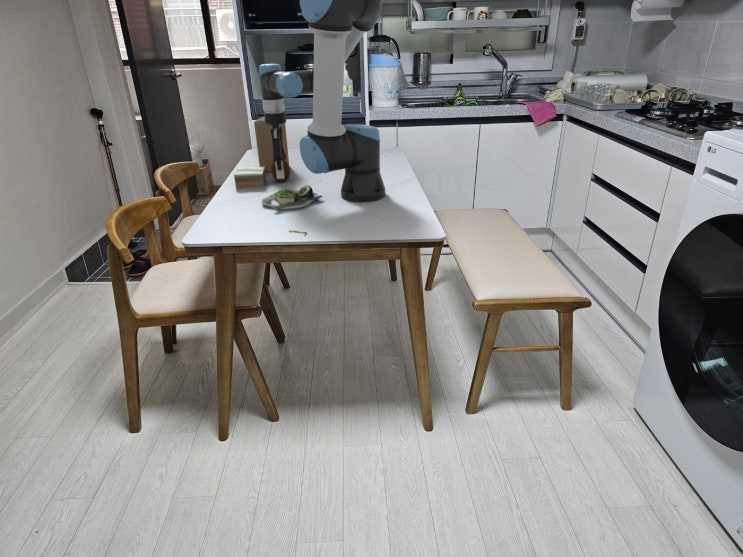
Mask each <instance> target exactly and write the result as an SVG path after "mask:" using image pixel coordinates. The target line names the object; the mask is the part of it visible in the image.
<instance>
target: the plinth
mask: <svg viewBox="0 0 743 557" xmlns="http://www.w3.org/2000/svg"><path fill="white" fill-rule="evenodd" d="M233 177H234V184H235V189H251V188H252V189H253V188H256V189H257V188H265V186H266V182H267V172H266V170H265V167H260V166H249V167H248V166H247V167H245V166H244V167H238V168H237V169H236V170H235V173H234V174H233Z"/></svg>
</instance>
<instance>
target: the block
mask: <svg viewBox="0 0 743 557" xmlns="http://www.w3.org/2000/svg"><path fill="white" fill-rule="evenodd" d="M253 126H254V132H255V133H254V134H255V140H256V148H257V156H258V165H259V166H258V167H265V170H266V173H272V168H271V166H272V163H273V160H274V159H273V153H274V151H273V142H272V135H271V128H272V125H271V124H266V123H265V118H264V116H262V117H260V118H258V119H256V120H254V123H253ZM280 126H281V127H282V130H283V132H282V135H283V139H282V140H283V149H284V152H285V153H286V160H285V161H286V162H287V163H288V164H289V165H290V160H289V159H290V158H289V149H288V148H289V147H288V139H287V128H286V123H284V124H280Z"/></svg>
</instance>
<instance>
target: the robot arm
mask: <svg viewBox="0 0 743 557" xmlns="http://www.w3.org/2000/svg"><path fill="white" fill-rule="evenodd" d="M299 7H300V10H301V16H302V17H303V18H304V19H305V21H307V22H308V28H309V30H310V31H311V32H312V34H313V35H314V36H313V38H314V39H313V67H312V69H305V70H293V71H292V70H291V71H282V66H281V65H280V64H279V63H263V64H260V65H259V66H258V70H259V71H258V72H259V75H258V77H259V81H260V84H259V85H260V91H261V98H262V99H261V100H262V109H263V110H262V111H264V114H263V117H264V118H265V123H266V124H271V125H272V128H271V135H272V141H273V150H274V160H273V162H274V161H275V165H276V174H277V179H284V168H283V160H282V152H281V148H282V147H283V140H282V139H283V135H282V132H283V130H282V127H281V126H280V124H284V123H285V124H286V123H287V114H286V112H285V110H286V106H285V105H287V101H285V98H295V97H298V96H303V95H311V94H313V96H312V121H311V123H310V124H309V125H308V126H307V131H306V132H307V135H304V136H302V137H301V138H300V141H299V152H300V156H301V159H302V162H303V163H304V165H305V167H306V169H308V170H309V171H310V173H312V174H315V175H318V174H329V173H331V172H336V171H340V170H344V176H343V181H342V184H341V187H340V196H341V198H342V199H344V200H347V201H351V202H357V203H359V202H362V203H363V202H365V203H368V202H374V201H378V200H381V199H383V198H384V197H385V196H386V187H385V183H384V181H383V178H382V175H381V165H380V164H381V162H380V161H381V160H380V159H381V158H380V156H381V155H380V154H381V153H380V149H381V147H380V145H381V140H380V138H381V137H380V131H379V129H378V127H375V126H372V125H367V124H366V125H365V124H358V123H356V124H355V123H353V124H352V123H347V124H346V123H345V124H344V125H343V124H342V121H343V120H342V118H343V117H342V116H343V97H344V94H343V93H344V81H345V80H344V76H345V63H346V61H347V60H348V58H349V57H350V55H351V53H353V51H354V49H355V48H356V47H357V45H358V43H359V42H360V41H361V39H362V38H363V36H364V35H365V33H368V32H370V31H371V30H372V29H373V28H374V26H375V25H376V23H377V22H378V21H379V18H380V15H381V13H382V7H383V0H299ZM285 154H286V153H285Z"/></svg>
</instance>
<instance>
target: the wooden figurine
mask: <svg viewBox="0 0 743 557" xmlns="http://www.w3.org/2000/svg"><path fill="white" fill-rule="evenodd" d="M272 142H273V141H272ZM273 151H274V150H273ZM281 152H282V160H283V168H284V179H277V174H276V165H275V161H274V162H273V163H272V166H271V168H272V172H271V174H272V176H273V178H274V180H275V181H276V182H278V183H285V182H287V181H289V179H290V176H291V166H290V163H289V164H288V163H287V162H286V161H285V160H286V154H285V152H284V149H283V147H282V148H281ZM273 159H274V153H273Z"/></svg>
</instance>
